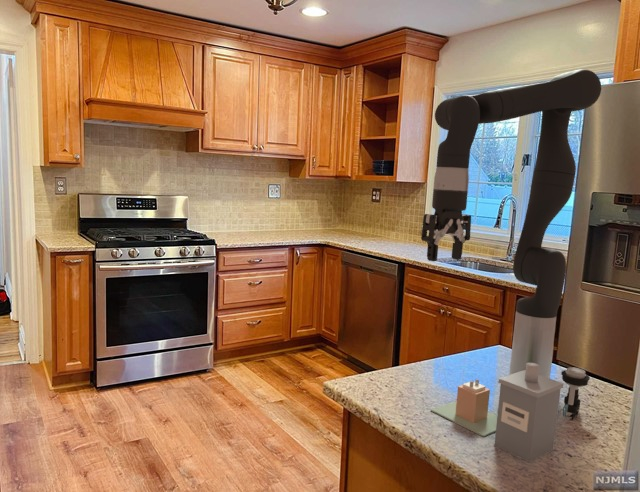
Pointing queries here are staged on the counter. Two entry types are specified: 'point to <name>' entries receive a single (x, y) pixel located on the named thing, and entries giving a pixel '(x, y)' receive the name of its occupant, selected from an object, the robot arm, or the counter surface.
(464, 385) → the block
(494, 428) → the pad
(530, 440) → the box
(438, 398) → the counter surface
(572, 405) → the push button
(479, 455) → the counter surface
